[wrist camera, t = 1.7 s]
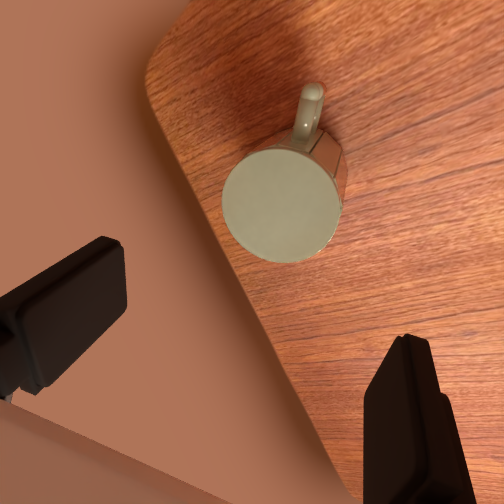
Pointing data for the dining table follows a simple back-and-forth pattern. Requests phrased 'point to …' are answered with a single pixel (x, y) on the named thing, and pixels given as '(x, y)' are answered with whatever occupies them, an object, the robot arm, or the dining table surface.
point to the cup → (288, 188)
